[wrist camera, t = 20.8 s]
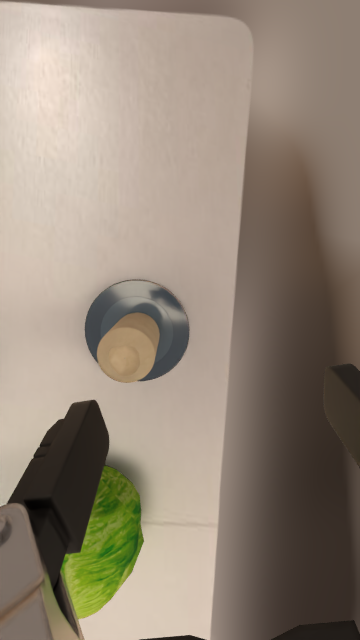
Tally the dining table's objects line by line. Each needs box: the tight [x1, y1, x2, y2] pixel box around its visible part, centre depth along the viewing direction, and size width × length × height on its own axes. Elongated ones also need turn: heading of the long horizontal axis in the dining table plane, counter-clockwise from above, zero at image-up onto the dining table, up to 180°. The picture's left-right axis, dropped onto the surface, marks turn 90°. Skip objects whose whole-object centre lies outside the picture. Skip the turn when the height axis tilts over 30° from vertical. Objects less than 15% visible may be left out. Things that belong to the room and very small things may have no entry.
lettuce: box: [61, 466, 144, 619], centre depth 36 cm, size 14×20×12 cm
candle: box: [97, 312, 160, 383], centre depth 31 cm, size 6×6×10 cm
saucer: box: [85, 280, 189, 381], centre depth 36 cm, size 13×13×1 cm
